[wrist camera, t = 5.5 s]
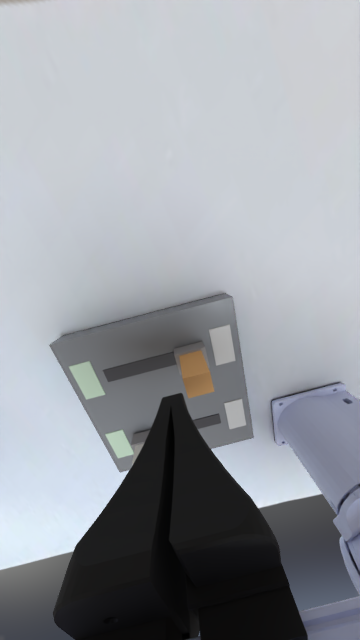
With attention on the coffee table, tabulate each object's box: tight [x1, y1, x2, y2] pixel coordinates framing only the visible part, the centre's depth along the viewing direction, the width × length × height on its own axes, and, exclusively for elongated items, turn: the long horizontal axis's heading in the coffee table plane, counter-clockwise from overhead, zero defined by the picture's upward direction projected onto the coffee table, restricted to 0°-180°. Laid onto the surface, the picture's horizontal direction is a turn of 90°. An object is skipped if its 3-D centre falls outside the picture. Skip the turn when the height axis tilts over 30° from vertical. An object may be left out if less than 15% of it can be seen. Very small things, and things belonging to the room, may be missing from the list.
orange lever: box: [174, 341, 214, 398], centre depth 14 cm, size 3×2×4 cm
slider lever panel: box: [49, 293, 254, 472], centre depth 19 cm, size 17×18×2 cm
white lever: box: [131, 430, 150, 465], centre depth 17 cm, size 3×2×4 cm
